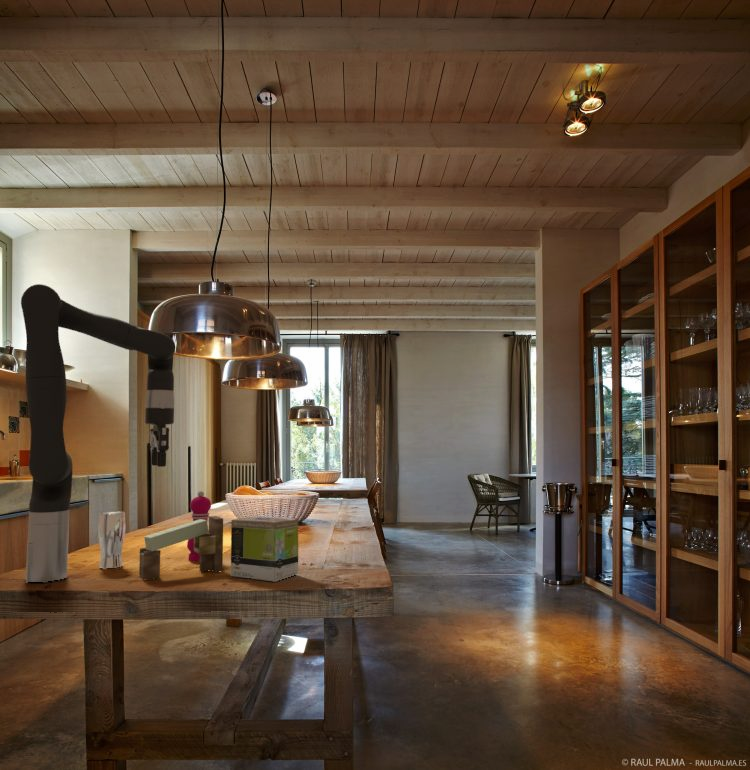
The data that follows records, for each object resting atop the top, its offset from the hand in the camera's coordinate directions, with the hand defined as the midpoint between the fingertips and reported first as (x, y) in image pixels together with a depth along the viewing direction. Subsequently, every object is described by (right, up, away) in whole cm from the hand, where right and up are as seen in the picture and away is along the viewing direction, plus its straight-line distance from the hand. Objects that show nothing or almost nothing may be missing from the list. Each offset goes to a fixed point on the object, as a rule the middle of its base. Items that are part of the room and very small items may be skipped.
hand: (158, 465), depth 169 cm
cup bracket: (+15, -28, -4) cm, 32 cm away
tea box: (+31, -27, -10) cm, 43 cm away
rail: (+8, -19, -7) cm, 22 cm away
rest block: (+1, -27, -11) cm, 29 cm away
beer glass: (-14, -29, +2) cm, 32 cm away
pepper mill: (+8, -30, +12) cm, 33 cm away
